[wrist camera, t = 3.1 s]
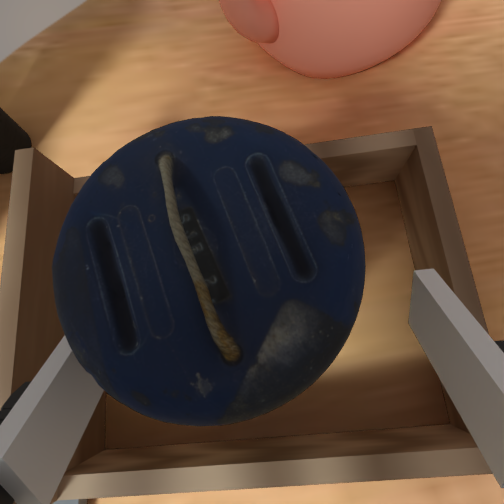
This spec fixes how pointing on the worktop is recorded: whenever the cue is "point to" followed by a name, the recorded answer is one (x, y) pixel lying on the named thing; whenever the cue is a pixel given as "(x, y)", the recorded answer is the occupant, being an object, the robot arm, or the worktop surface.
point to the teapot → (330, 31)
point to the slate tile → (71, 501)
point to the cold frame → (248, 450)
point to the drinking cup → (10, 141)
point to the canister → (209, 271)
